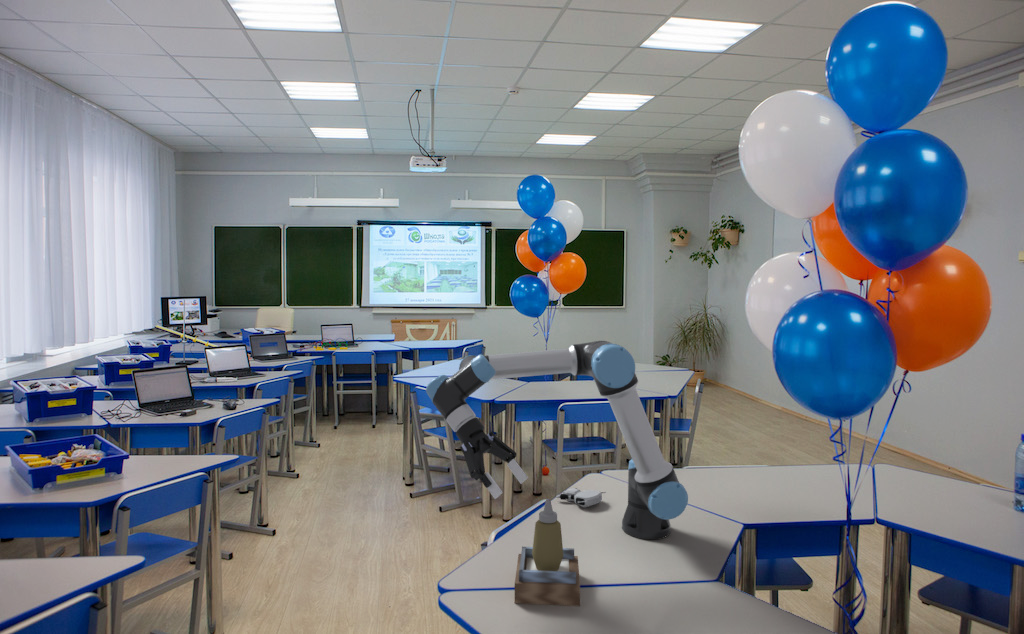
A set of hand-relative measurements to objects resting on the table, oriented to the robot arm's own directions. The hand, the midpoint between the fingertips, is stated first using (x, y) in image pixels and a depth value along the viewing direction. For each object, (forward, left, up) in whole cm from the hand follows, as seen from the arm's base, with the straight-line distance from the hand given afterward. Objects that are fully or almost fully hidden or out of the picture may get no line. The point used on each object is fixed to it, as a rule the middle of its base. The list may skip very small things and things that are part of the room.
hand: (512, 488), depth 158 cm
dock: (-10, +5, -24) cm, 26 cm away
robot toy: (-21, -56, -25) cm, 65 cm away
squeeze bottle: (-10, +5, -19) cm, 22 cm away
